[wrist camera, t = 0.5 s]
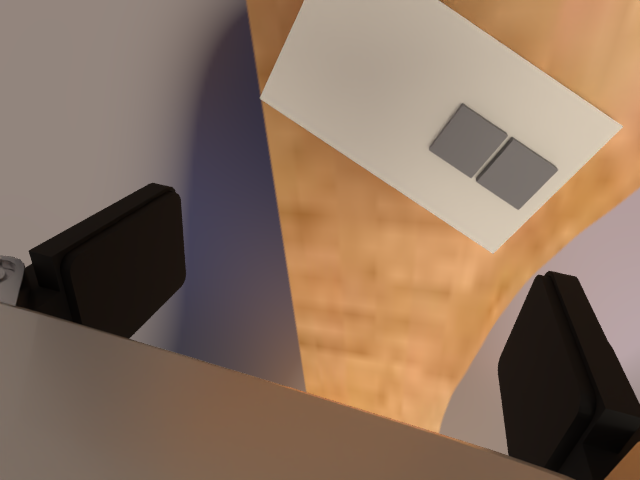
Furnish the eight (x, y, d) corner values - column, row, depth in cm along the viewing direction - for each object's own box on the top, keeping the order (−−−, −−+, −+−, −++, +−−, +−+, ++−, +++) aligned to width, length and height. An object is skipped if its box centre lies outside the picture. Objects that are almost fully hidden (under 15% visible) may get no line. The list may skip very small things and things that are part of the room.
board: (342, -66, 30) (336, -70, 28) (613, 120, 31) (623, 126, 29) (268, 94, 37) (259, 98, 35) (491, 243, 38) (493, 253, 36)
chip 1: (462, 102, 31) (462, 105, 30) (506, 132, 31) (508, 136, 30) (429, 146, 33) (428, 150, 32) (470, 174, 33) (471, 178, 32)
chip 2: (511, 136, 31) (513, 139, 30) (555, 165, 31) (558, 170, 30) (475, 177, 33) (476, 182, 32) (516, 205, 33) (518, 210, 33)
